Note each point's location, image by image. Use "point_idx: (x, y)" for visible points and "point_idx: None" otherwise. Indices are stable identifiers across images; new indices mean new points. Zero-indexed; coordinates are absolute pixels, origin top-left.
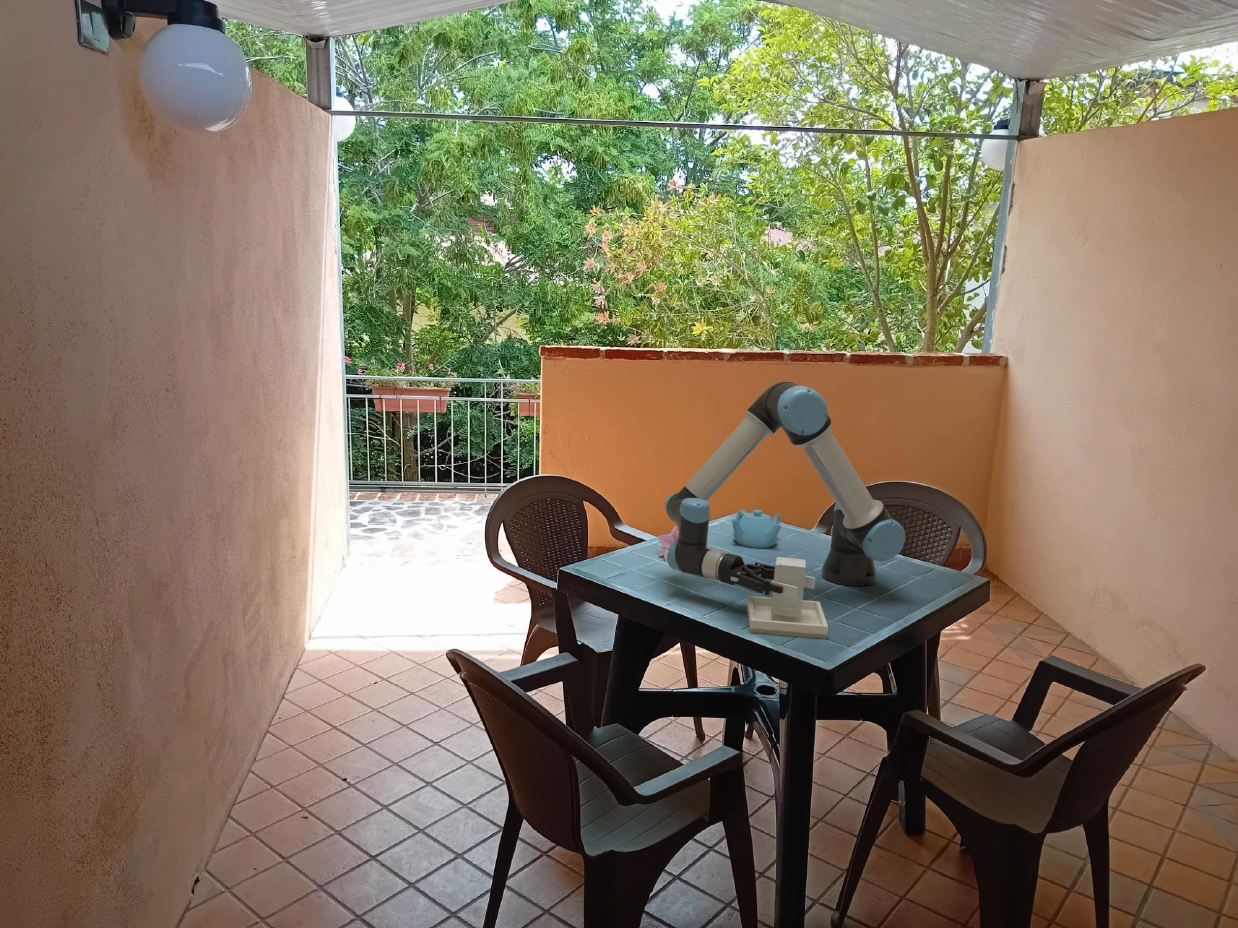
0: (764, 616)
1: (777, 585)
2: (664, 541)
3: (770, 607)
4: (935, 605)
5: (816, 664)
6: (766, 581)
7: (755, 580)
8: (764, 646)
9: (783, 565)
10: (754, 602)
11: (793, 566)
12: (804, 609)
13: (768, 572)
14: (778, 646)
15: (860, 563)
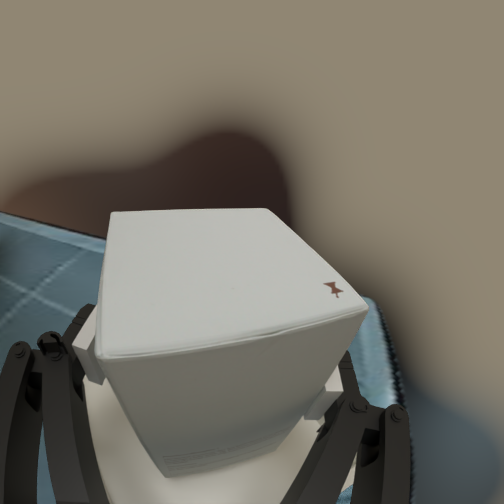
0: (235, 488)
1: None
2: None
3: (119, 489)
4: (17, 221)
5: (374, 313)
6: (357, 414)
7: (397, 459)
8: (398, 400)
9: (333, 273)
10: None
11: (298, 238)
12: (85, 387)
13: (89, 482)
14: (374, 383)
15: None
